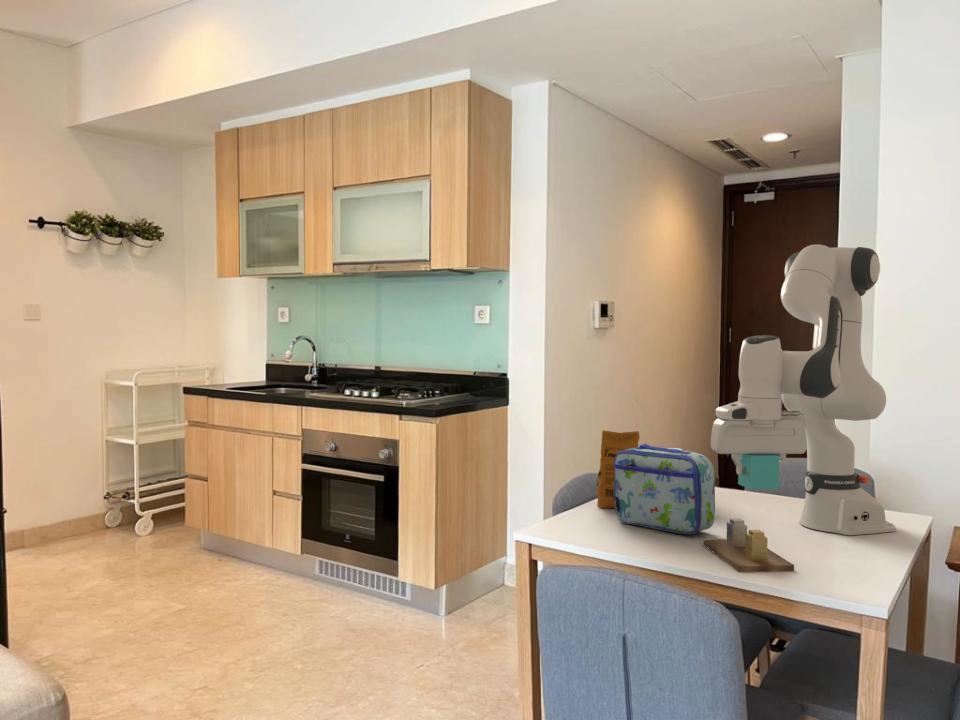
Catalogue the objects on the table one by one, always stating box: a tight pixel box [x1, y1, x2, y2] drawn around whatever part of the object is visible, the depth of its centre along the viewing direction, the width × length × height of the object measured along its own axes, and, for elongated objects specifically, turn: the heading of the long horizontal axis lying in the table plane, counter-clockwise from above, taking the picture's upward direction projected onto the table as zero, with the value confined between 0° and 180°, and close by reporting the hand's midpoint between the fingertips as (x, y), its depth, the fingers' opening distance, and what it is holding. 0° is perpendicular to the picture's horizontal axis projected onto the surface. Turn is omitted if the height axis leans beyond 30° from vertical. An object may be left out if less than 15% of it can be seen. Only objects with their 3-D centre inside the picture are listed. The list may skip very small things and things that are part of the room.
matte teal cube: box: [737, 454, 780, 491], centre depth 160 cm, size 6×6×7 cm
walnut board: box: [702, 538, 795, 573], centre depth 166 cm, size 12×20×1 cm, turn 4°
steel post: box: [726, 517, 748, 548], centre depth 171 cm, size 3×3×6 cm
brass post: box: [745, 529, 768, 561], centre depth 161 cm, size 3×3×6 cm
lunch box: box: [613, 443, 716, 536], centre depth 191 cm, size 26×11×21 cm, turn 43°
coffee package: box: [596, 429, 640, 509], centre depth 214 cm, size 10×12×22 cm
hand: (758, 474), depth 160 cm, fingers closed on matte teal cube, 6 cm apart
